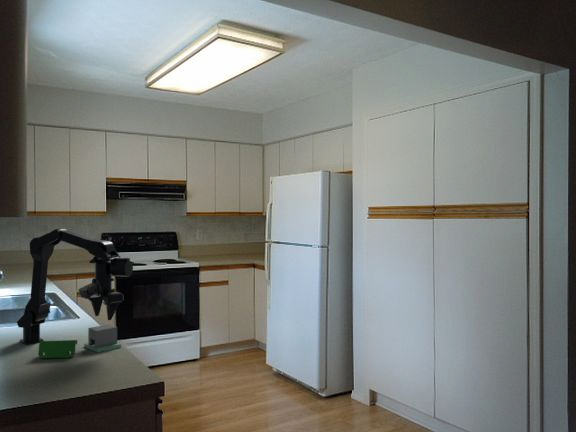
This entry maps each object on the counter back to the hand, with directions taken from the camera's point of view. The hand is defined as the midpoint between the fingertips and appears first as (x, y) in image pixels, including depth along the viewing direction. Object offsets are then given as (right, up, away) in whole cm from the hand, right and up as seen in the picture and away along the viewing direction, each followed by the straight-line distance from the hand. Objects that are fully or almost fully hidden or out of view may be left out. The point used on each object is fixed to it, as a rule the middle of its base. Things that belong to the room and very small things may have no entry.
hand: (103, 318), depth 183 cm
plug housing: (0, -10, 0) cm, 10 cm away
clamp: (-11, -11, -11) cm, 19 cm away
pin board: (0, -11, 0) cm, 11 cm away
